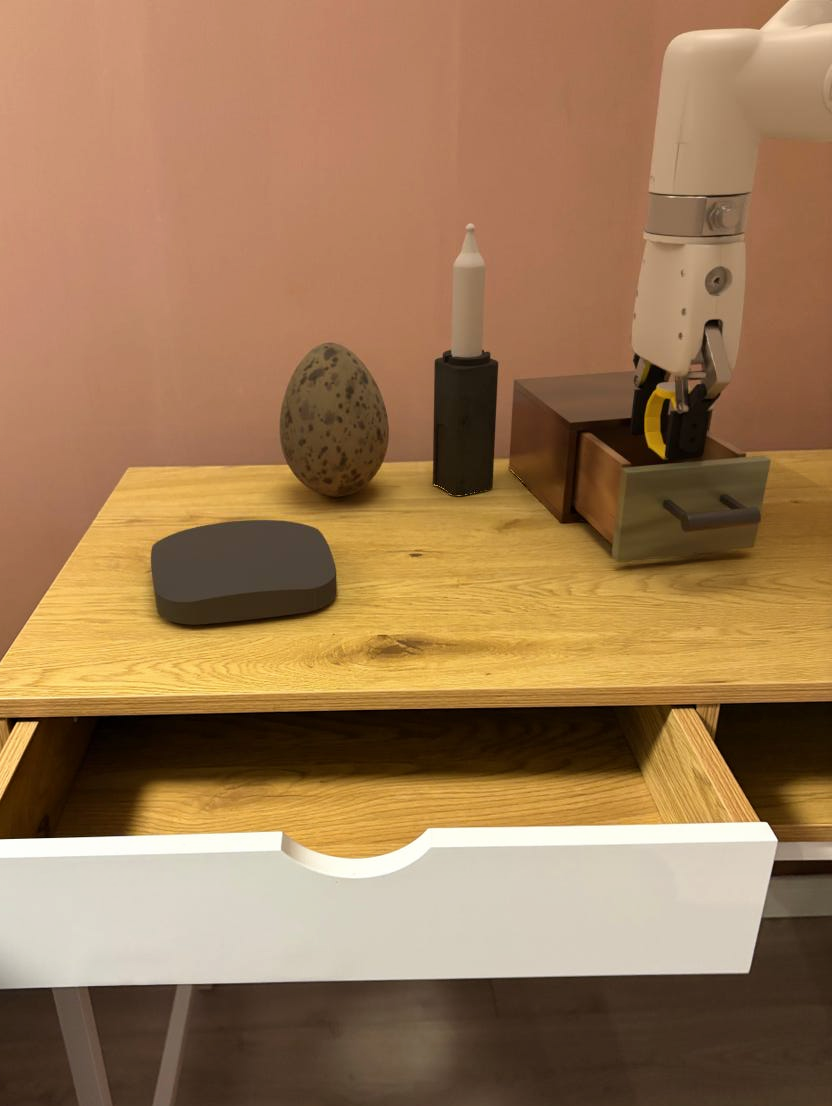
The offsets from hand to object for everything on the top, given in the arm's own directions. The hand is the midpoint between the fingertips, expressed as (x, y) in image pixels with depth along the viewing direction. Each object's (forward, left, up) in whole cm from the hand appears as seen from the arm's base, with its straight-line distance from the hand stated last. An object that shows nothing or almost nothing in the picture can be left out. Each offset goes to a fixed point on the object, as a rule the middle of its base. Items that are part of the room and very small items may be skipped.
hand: (665, 443), depth 84 cm
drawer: (0, +1, -8) cm, 8 cm away
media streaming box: (+37, +2, -9) cm, 38 cm away
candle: (+13, -16, -9) cm, 23 cm away
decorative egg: (+26, -17, -9) cm, 33 cm away
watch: (0, 0, -1) cm, 1 cm away
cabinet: (0, -12, -9) cm, 15 cm away
